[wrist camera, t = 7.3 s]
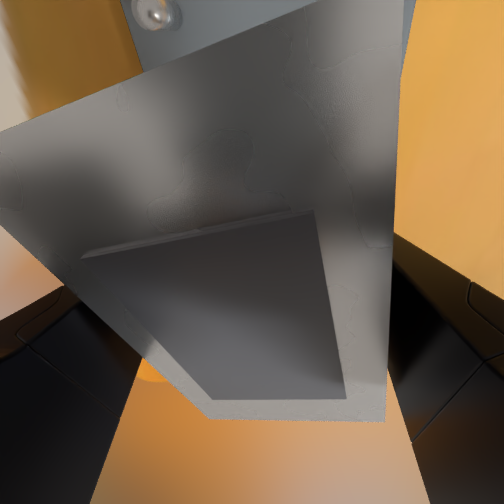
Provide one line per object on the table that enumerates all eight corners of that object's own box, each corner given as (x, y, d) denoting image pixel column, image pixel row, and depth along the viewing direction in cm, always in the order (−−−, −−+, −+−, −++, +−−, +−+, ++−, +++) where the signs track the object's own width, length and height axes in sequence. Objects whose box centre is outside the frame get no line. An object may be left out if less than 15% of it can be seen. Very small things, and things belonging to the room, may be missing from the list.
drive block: (328, 11, 6) (409, -39, 2) (353, 297, 12) (386, 425, 8) (114, 96, 7) (-77, 163, 4) (231, 309, 13) (208, 422, 9)
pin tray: (426, -97, 11) (482, -150, 8) (364, 235, 21) (377, 268, 18) (120, -26, 13) (69, -45, 10) (204, 241, 24) (191, 272, 21)
